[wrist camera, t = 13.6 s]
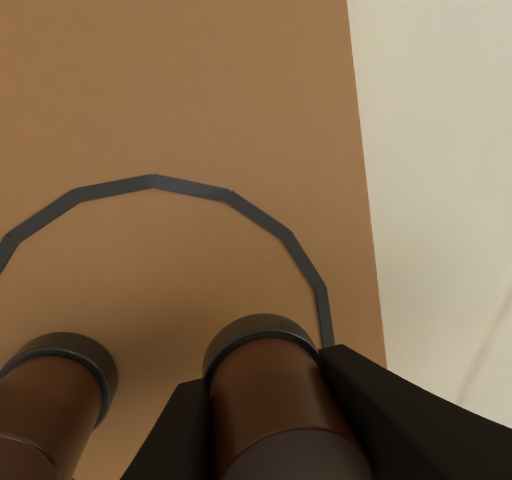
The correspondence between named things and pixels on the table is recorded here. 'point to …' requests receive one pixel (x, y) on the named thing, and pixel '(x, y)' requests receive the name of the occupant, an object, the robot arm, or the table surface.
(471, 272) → the table surface
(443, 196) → the table surface
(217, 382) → the cylinder
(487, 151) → the table surface
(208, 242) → the sheet
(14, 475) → the cylinder
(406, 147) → the table surface
